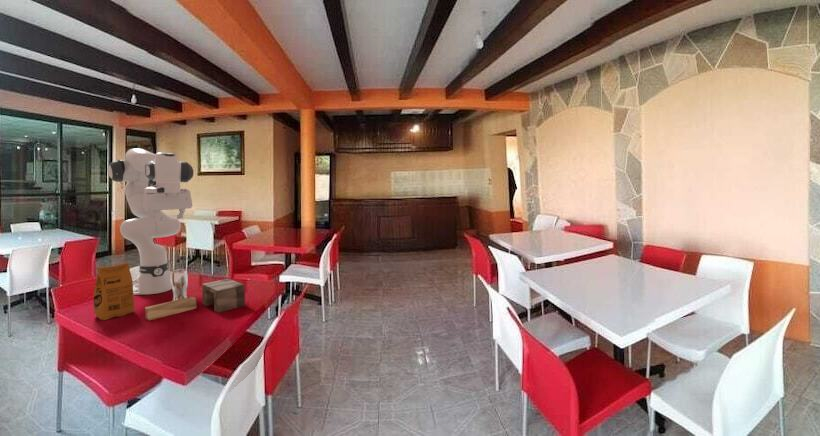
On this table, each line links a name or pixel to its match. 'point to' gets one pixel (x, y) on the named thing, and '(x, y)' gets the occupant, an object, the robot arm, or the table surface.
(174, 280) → the beer glass
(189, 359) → the table surface
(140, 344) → the table surface
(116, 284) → the coffee package
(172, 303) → the slat
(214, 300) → the end cap
